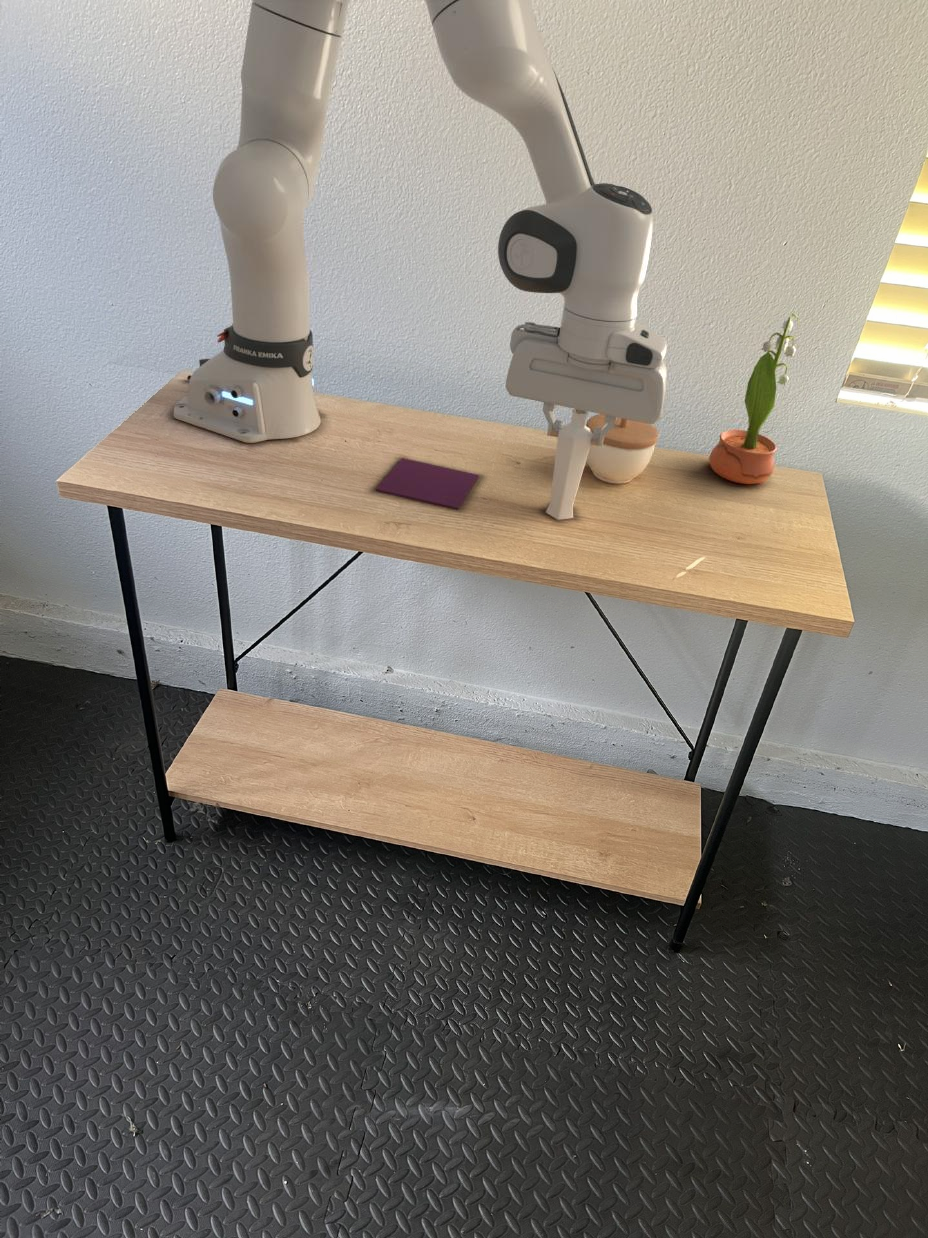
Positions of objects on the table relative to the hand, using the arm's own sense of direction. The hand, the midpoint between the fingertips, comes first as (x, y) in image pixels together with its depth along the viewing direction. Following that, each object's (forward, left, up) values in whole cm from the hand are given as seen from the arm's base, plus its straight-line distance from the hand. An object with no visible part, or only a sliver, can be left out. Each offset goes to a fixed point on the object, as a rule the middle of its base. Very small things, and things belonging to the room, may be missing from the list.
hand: (575, 439), depth 112 cm
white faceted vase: (0, 0, -11) cm, 11 cm away
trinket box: (+5, +16, -11) cm, 20 cm away
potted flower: (+24, +27, -11) cm, 38 cm away
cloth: (-19, 0, -11) cm, 22 cm away
